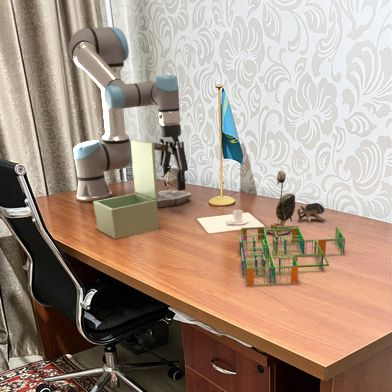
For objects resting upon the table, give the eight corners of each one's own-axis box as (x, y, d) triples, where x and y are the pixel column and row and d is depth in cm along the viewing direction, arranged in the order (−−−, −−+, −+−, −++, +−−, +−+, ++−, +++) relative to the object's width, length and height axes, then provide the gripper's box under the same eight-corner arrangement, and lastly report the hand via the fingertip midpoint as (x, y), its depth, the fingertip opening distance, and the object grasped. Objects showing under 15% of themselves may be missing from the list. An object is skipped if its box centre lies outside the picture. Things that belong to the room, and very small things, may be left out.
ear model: (227, 227, 179) (227, 215, 177) (221, 221, 185) (221, 209, 183) (251, 224, 180) (251, 212, 178) (245, 218, 187) (245, 207, 185)
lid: (151, 143, 169) (171, 141, 172) (130, 139, 181) (149, 137, 184) (155, 199, 177) (174, 196, 180) (134, 191, 189) (153, 189, 192)
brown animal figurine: (298, 222, 175) (325, 216, 172) (295, 201, 175) (322, 196, 173) (300, 228, 182) (326, 223, 180) (297, 208, 183) (323, 203, 180)
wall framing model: (238, 243, 163) (238, 228, 160) (333, 238, 161) (334, 222, 159) (244, 286, 132) (243, 268, 130) (360, 280, 131) (362, 262, 128)
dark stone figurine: (302, 230, 170) (304, 167, 160) (274, 237, 165) (275, 173, 155) (286, 225, 176) (288, 164, 166) (259, 232, 172) (259, 169, 162)
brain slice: (176, 195, 226) (176, 188, 225) (196, 201, 213) (196, 194, 212) (136, 203, 218) (135, 196, 216) (154, 210, 205) (153, 203, 203)
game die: (174, 200, 196) (163, 182, 187) (165, 188, 200) (154, 170, 192) (193, 186, 195) (183, 167, 187) (184, 174, 200) (173, 155, 191)
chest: (115, 239, 175) (111, 209, 170) (97, 229, 187) (93, 201, 182) (159, 228, 182) (156, 200, 177) (139, 219, 194) (136, 193, 189)
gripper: (146, 123, 191) (152, 184, 202) (176, 127, 174) (181, 194, 185) (164, 120, 194) (168, 181, 205) (195, 125, 177) (199, 191, 188)
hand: (174, 187), depth 195 cm, fingers closed on game die, 10 cm apart
